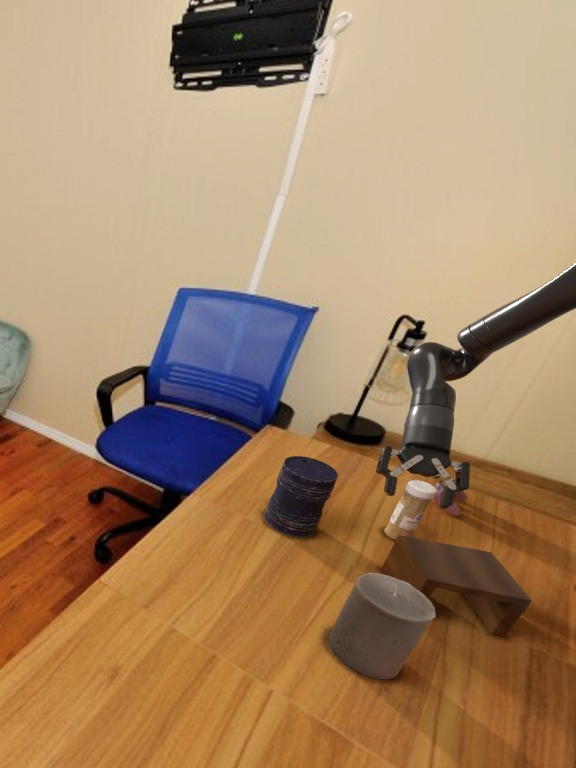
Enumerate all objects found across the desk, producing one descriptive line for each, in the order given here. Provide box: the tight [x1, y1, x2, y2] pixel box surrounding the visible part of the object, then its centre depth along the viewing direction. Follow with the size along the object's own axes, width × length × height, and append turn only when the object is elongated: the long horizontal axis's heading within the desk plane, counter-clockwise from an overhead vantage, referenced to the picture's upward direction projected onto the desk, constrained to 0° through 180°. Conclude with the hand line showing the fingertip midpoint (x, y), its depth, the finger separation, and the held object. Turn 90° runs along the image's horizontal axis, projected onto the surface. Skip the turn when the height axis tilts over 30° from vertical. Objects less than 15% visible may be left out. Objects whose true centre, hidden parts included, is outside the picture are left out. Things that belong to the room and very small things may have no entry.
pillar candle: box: [327, 572, 437, 680], centre depth 82 cm, size 10×10×15 cm
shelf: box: [380, 535, 533, 638], centre depth 92 cm, size 14×12×9 cm
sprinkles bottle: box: [384, 479, 437, 541], centre depth 107 cm, size 5×5×13 cm
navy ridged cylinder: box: [264, 455, 339, 538], centre depth 111 cm, size 10×10×15 cm
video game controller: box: [433, 478, 468, 517], centre depth 119 cm, size 10×5×7 cm, turn 130°
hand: (416, 501), depth 105 cm, fingers open, 8 cm apart
